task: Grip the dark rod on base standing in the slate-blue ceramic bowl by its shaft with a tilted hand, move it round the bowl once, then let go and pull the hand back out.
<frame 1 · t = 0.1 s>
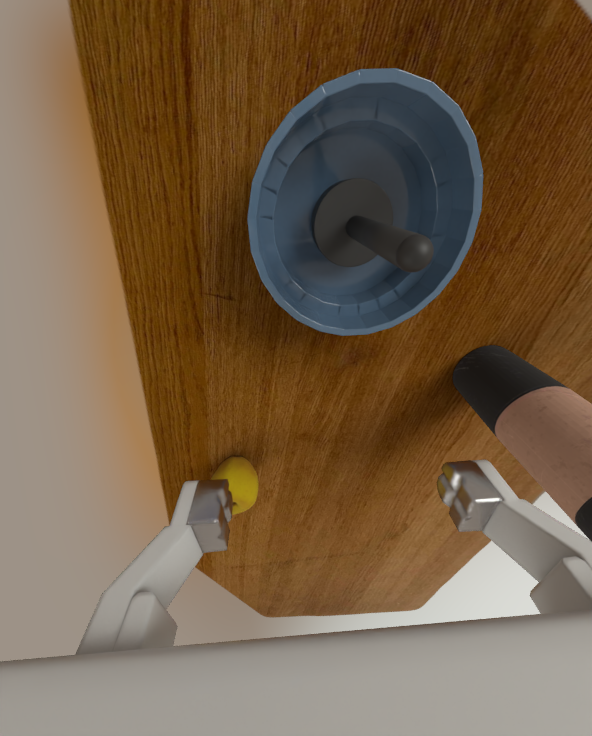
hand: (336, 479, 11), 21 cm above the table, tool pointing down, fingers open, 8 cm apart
bowl: (345, 222, 25), on the table
apple: (238, 461, 42), on the table
dark rod on base: (347, 223, 25), point 1 cm above the table, touching bowl
travel mug: (480, 369, 35), on the table
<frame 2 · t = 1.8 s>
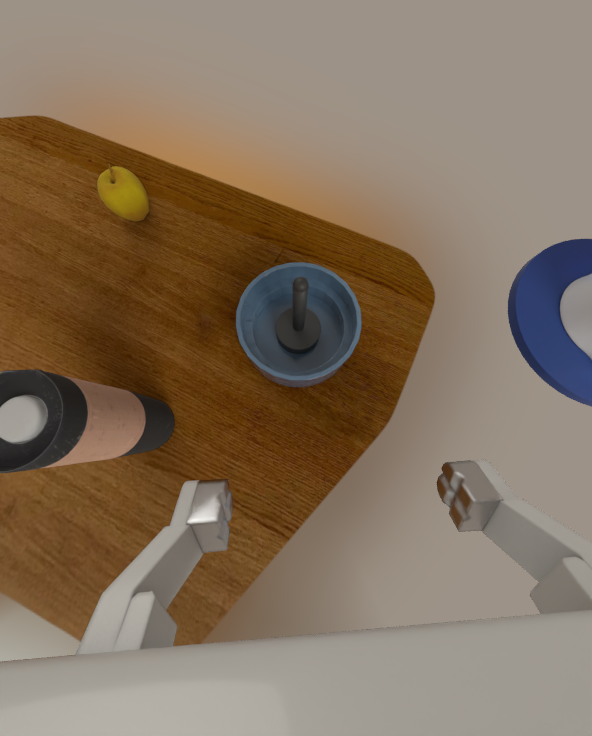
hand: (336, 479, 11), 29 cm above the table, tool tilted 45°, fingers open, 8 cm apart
bowl: (297, 335, 43), on the table
apple: (138, 215, 47), on the table
dark rod on base: (297, 333, 42), point 1 cm above the table, touching bowl
travel mug: (150, 424, 40), on the table
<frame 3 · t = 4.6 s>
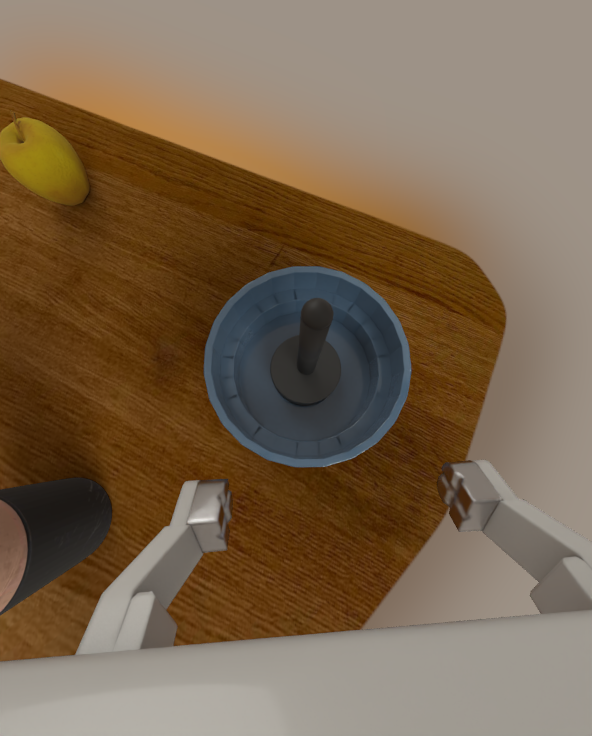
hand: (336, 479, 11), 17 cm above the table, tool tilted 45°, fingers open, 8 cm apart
bowl: (304, 374, 28), on the table
apple: (76, 197, 33), on the table
dark rod on base: (304, 373, 28), point 1 cm above the table, touching bowl
travel mug: (74, 518, 25), on the table
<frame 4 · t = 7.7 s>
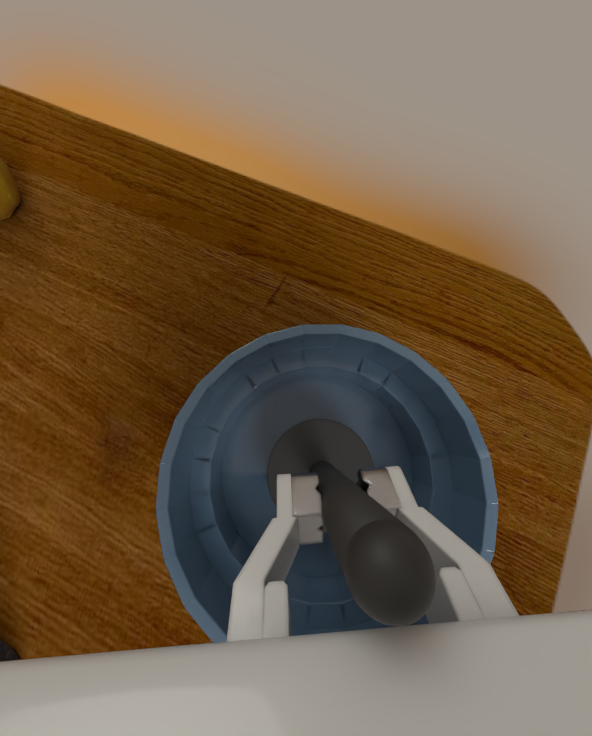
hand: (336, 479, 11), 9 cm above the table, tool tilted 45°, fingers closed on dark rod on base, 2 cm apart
bowl: (316, 466, 20), on the table
apple: (4, 209, 24), on the table
dark rod on base: (317, 468, 19), point 1 cm above the table, touching bowl, gripper
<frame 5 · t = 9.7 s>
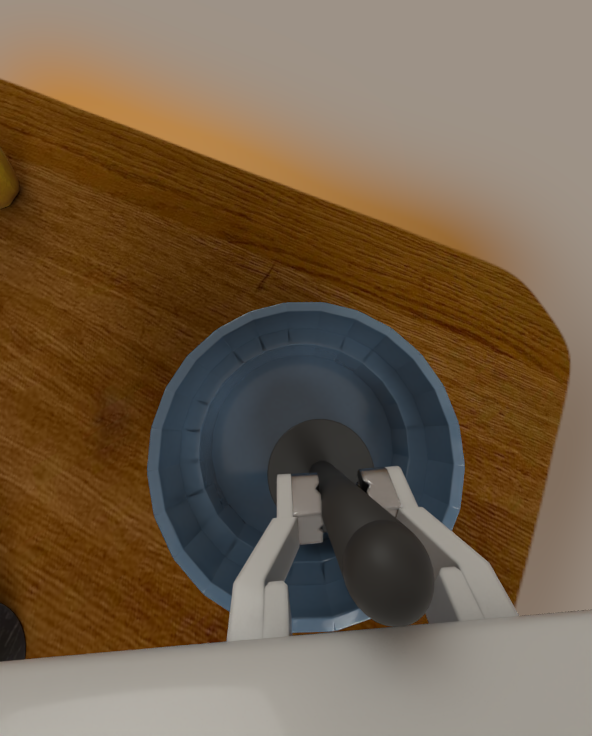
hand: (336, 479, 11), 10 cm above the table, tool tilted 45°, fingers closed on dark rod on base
bowl: (302, 442, 21), on the table
apple: (3, 197, 25), on the table
dark rod on base: (317, 468, 19), point 2 cm above the table, touching gripper
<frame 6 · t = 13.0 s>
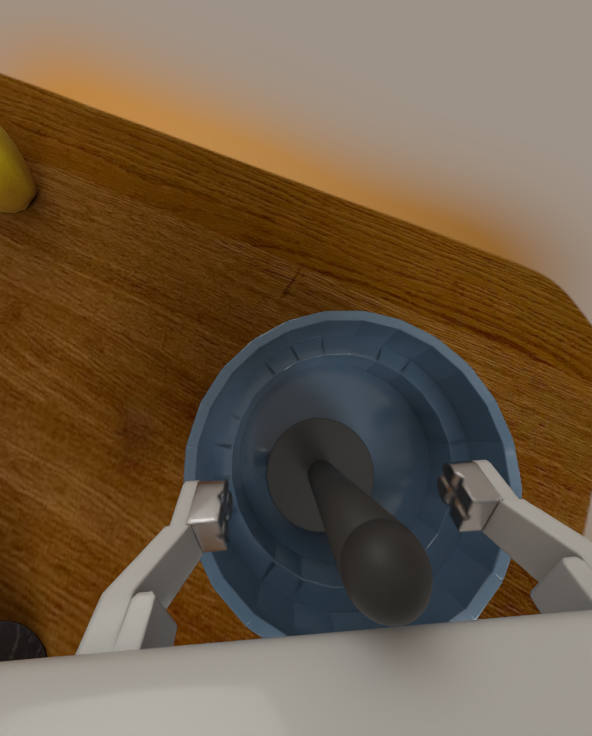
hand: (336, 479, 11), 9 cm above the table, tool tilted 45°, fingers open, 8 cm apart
bowl: (333, 455, 20), on the table
apple: (20, 201, 24), on the table
dark rod on base: (316, 467, 19), point 1 cm above the table, touching bowl
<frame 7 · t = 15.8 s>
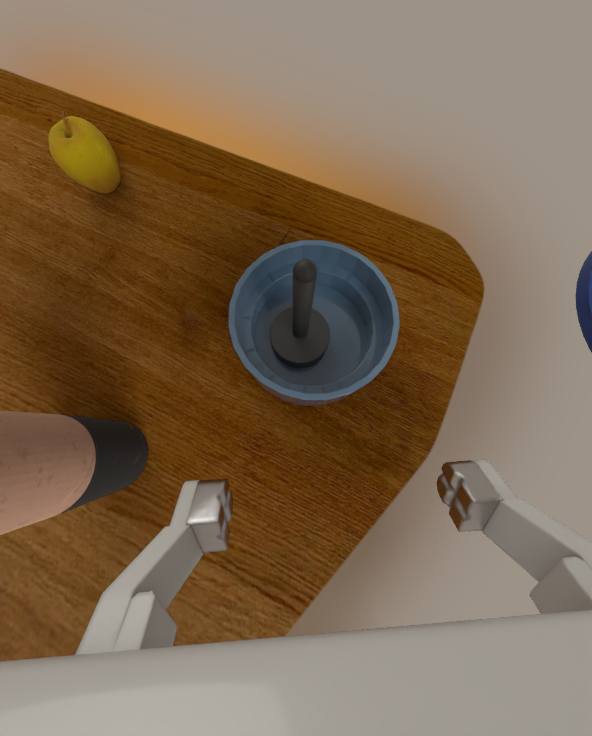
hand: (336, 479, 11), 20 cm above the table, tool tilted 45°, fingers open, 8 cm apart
bowl: (309, 336, 33), on the table
apple: (108, 186, 38), on the table
dark rod on base: (299, 340, 32), point 1 cm above the table, touching bowl
travel mug: (115, 455, 30), on the table
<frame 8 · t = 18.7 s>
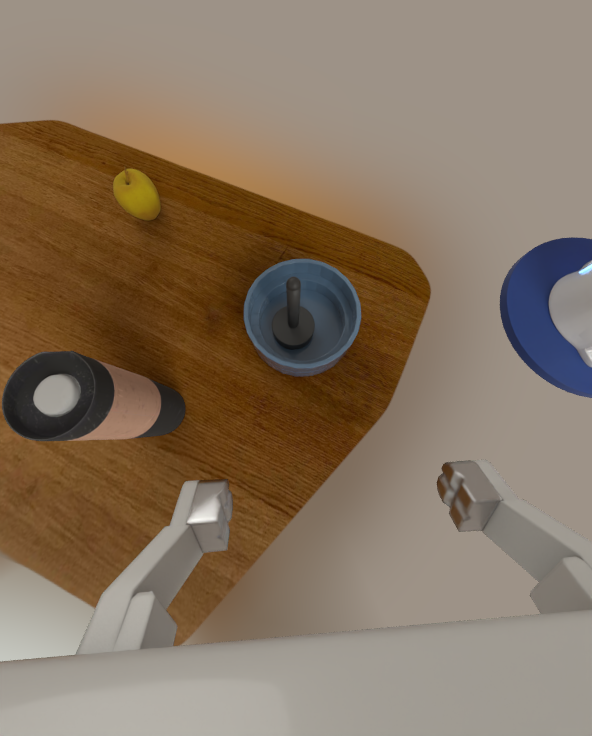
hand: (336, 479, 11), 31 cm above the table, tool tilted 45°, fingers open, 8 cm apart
bowl: (301, 327, 45), on the table
apple: (150, 214, 50), on the table
dark rod on base: (293, 330, 44), point 1 cm above the table, touching bowl
travel mug: (162, 411, 42), on the table
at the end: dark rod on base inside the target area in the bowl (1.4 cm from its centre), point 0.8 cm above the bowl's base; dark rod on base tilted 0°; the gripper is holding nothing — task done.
